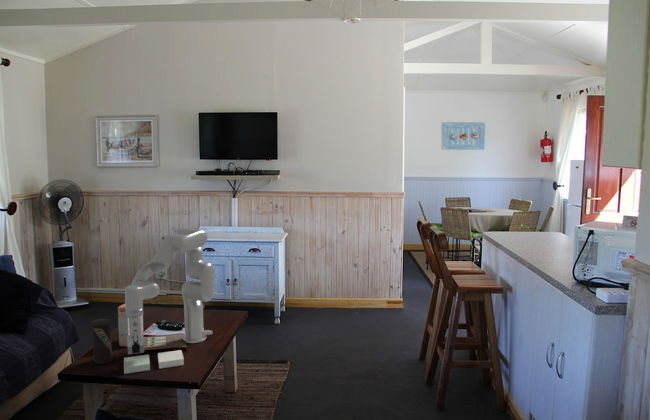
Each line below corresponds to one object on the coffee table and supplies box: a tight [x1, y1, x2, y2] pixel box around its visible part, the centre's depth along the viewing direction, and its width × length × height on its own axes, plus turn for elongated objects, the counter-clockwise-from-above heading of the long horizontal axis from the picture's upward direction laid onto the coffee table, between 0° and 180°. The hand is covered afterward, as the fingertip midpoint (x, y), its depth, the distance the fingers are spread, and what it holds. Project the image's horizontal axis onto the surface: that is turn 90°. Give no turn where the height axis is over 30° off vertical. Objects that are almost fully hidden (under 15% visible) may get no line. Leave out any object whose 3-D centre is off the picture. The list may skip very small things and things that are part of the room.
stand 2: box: [157, 349, 185, 369], centre depth 237 cm, size 11×11×3 cm
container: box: [90, 318, 113, 365], centre depth 237 cm, size 9×9×20 cm
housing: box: [127, 333, 145, 355], centre depth 230 cm, size 7×6×8 cm
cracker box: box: [117, 303, 144, 348], centre depth 260 cm, size 14×6×21 cm, turn 168°
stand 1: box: [123, 354, 151, 375], centre depth 231 cm, size 11×11×3 cm
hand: (136, 349), depth 230 cm, fingers closed on housing, 5 cm apart
